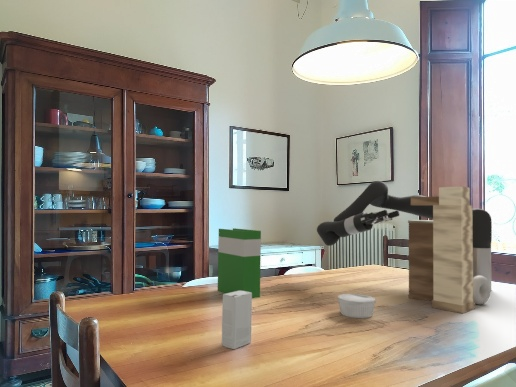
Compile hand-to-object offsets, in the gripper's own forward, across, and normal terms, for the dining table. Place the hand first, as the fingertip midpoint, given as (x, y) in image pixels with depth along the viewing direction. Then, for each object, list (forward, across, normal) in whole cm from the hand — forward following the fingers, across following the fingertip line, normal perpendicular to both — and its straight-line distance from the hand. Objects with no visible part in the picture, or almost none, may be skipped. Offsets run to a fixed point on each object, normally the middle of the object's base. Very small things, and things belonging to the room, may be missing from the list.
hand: (392, 212), depth 150 cm
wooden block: (+13, -2, +37) cm, 39 cm away
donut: (+16, +11, +38) cm, 43 cm away
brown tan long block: (+18, -3, +3) cm, 19 cm away
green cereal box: (-45, -45, +20) cm, 67 cm away
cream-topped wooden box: (+1, +8, +33) cm, 34 cm away
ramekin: (-2, -34, +33) cm, 48 cm away
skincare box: (-5, -79, +34) cm, 86 cm away
